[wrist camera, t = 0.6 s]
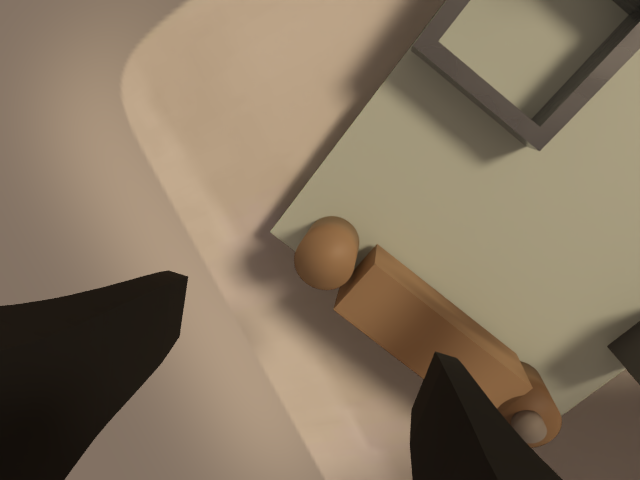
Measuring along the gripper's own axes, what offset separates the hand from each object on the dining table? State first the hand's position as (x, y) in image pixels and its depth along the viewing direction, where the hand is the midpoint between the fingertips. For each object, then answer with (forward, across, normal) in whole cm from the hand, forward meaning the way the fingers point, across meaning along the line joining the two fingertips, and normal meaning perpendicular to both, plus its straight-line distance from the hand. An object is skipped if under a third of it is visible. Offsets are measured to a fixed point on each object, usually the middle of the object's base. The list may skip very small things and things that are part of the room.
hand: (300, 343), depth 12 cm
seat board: (+9, -7, -4) cm, 12 cm away
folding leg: (+7, -6, +2) cm, 10 cm away
